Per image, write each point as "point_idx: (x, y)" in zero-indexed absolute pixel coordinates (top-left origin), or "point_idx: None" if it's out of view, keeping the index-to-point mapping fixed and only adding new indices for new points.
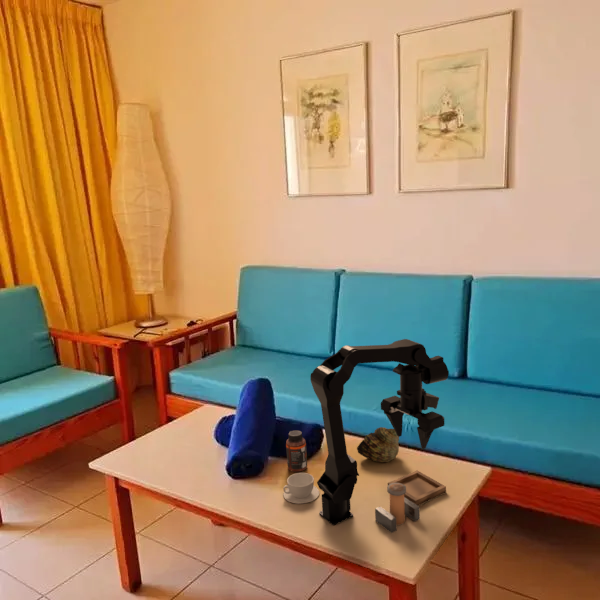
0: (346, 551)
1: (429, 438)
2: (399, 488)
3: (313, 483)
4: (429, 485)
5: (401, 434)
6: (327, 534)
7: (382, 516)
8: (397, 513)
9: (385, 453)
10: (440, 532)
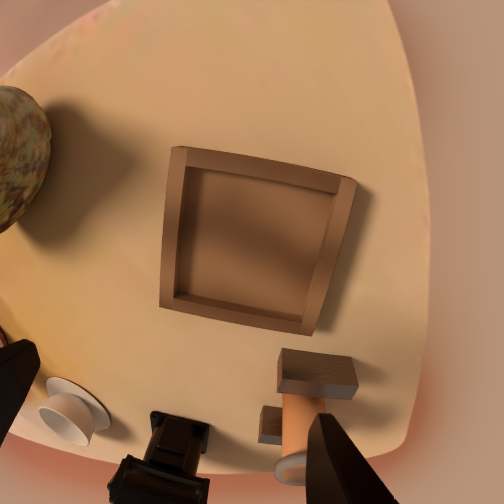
0: None
1: (386, 487)
2: None
3: (78, 420)
4: (279, 192)
5: (28, 349)
6: (218, 463)
7: None
8: None
9: (25, 183)
10: (417, 360)
